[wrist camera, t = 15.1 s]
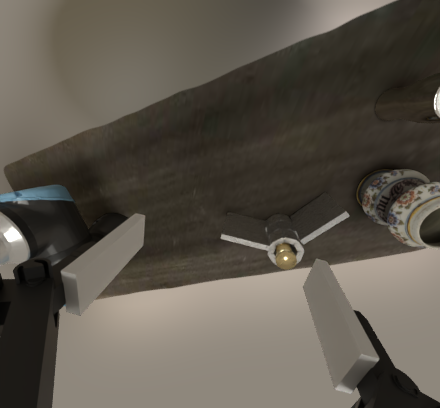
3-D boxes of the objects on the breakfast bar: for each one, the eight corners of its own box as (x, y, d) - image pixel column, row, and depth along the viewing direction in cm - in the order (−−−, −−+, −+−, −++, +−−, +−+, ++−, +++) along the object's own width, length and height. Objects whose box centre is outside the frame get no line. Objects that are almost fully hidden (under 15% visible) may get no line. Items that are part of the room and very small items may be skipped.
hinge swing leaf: (276, 242, 55) (282, 271, 45) (259, 225, 54) (261, 250, 43) (335, 204, 49) (358, 226, 38) (317, 183, 48) (336, 200, 37)
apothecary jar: (374, 223, 50) (434, 272, 33) (339, 192, 48) (385, 228, 32) (422, 187, 45) (520, 224, 29) (386, 152, 44) (467, 170, 27)
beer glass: (387, 130, 42) (453, 134, 29) (364, 108, 42) (420, 100, 28) (420, 100, 40) (509, 88, 26) (396, 76, 39) (475, 50, 25)
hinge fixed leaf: (224, 224, 56) (218, 249, 45) (230, 201, 53) (224, 222, 42) (287, 240, 55) (296, 269, 44) (296, 217, 52) (308, 243, 41)
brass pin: (268, 230, 55) (273, 266, 41) (272, 217, 53) (279, 250, 39) (283, 234, 54) (293, 271, 41) (287, 221, 53) (299, 255, 39)
